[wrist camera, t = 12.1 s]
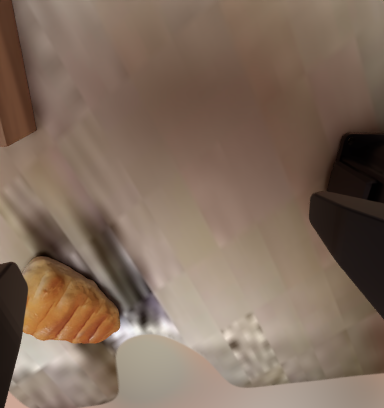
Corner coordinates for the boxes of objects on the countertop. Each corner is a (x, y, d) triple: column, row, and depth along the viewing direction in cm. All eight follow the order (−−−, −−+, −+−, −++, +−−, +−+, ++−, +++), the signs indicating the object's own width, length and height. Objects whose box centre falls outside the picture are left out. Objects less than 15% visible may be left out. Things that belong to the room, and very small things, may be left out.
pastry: (138, 294, 26) (133, 330, 23) (99, 339, 28) (89, 377, 25) (37, 244, 23) (14, 276, 20) (1, 298, 25) (-25, 336, 22)
